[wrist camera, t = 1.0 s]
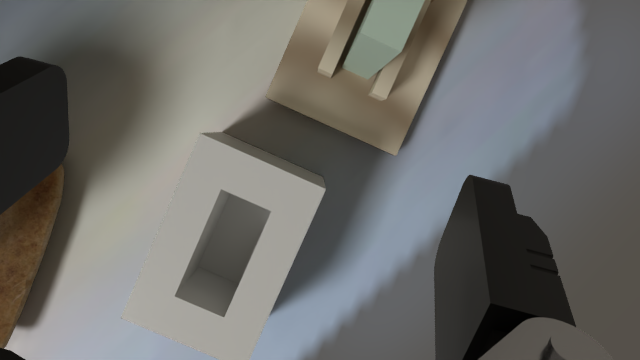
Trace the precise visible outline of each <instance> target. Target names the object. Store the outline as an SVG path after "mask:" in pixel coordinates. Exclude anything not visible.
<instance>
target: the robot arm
mask: <svg viewBox="0 0 640 360" xmlns="http://www.w3.org/2000/svg"><path fill="white" fill-rule="evenodd" d="M68 145H69V123H68V100H67V80H66V75H65V73H64V71H63V69H62V68H61V67H59V66H56V65H52V64H48V63H44V62H40V61H36V60H33V59H29V58H25V57H16V58H14V59H11V60H9V61H7V62H5V63H3V64H1V65H0V215H1V214H2V213H3V212H4V211H6V210H7V209H8V208H9V207H11V206H12V205H13V204H14V203H15V202H17V201H18V200H19V199H20V198H22V197H23V196H24V195H25V194H26V193H28V192H29V191H30V190H31V189H33V188H34V187H35V186H36V185H38V184H39V183H40V182H41V181H42V180H44V179H45V178H46V177H47V176H49V175H50V174H51V173H52V172H53V171H55V170H56V169H57V168H58V167H59V166H60V165H61V163H62V162H63V160H64V158H65V156H66V153H67V150H68ZM552 258H553V254H552V250H551V247H550V244H549V241H548V238H547V236H546V235H545V234H544V232H543V231H542V230H541V229H540V228H539V226H537V224H536V223H535V222H534V221H533V219H532V218H531V217H528V216H523V215H520V214H517V211H516V207H515V204H514V199H513V195H512V192H511V188H510V186H509V185H507V184H504V183H500V182H496V181H492V180H488V179H485V178H481V177H477V176H473V175H469V176H468V177H467V178H466V180H465V181H464V183H463V186H462V188H461V191H460V193H459V196H458V198H457V201H456V203H455V206H454V208H453V211H452V213H451V216H450V218H449V221H448V223H447V226H446V228H445V231H444V233H443V236H442V238H441V241H440V244H439V247H438V251H437V255H436V260H435V267H434V283H435V284H434V285H435V286H434V288H435V351H436V360H613V358H612V357H611V356H610V354H609V353H608V352H607V351H606V350H605V349H604V348H603V347H602V346H601V345H600V344H599V343H598V342H597V341H595V340H594V339H593V338H592V337H591V336H589V335H588V334H586V333H585V332H583V331H581V330H580V329H578V328H576V325H575V322H574V319H573V316H572V313H571V310H570V306H569V303H568V300H567V297H566V294H565V291H564V288H563V285H562V281H561V278H560V276H558V269H557V266H556V263H555V260H554V259H552ZM0 360H25V359H23V358H22V357H20V356H18V355H17V354H15V353H14V352H12V351H10V350H6V349H3V348H0Z"/></svg>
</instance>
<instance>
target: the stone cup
mask: <svg viewBox="0 0 640 360" xmlns="http://www.w3.org/2000/svg"><path fill="white" fill-rule="evenodd" d="M63 186H64V168H63V166H62V163H61V165H60V166H59V167H58V168H57V169H56V170H55V171H53V172H52V173H51V174H50V175H49V176H47V177H46V178H45V179H44V180H42V181H41V182H40V183H39V184H38V185H36V186H35V187H34V188H33V189H31V190H30V191H29V192H28V193H26V194H25V195H24V196H23V197H22V198H20V199H19V200H18V201H17V202H15V203H14V204H13V205H12V206H11V207H9V208H8V209H7V210H6V211H4V212H3V213H2V214H1V215H0V348H3V349H4V348H5V347H6V345H7V343H8V341H9V339H10V337H11V335H12V333H13V330H14V328H15V326H16V323H17V320H18V319H19V317H20V315H21V313H22V310H23V308H24V305H25V303H26V300H27V297H28V295H29V292H30V289H31V287H32V284H33V281H34V278H35V276H36V274H37V271H38V269H39V266H40V264H41V261H42V258H43V256H44V253H45V250H46V247H47V245H48V242H49V239H50V236H51V232H52V229H53V226H54V223H55V220H56V216H57V213H58V210H59V206H60V203H61V198H62V193H63Z"/></svg>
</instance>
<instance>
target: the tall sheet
mask: <svg viewBox="0 0 640 360" xmlns="http://www.w3.org/2000/svg"><path fill="white" fill-rule="evenodd" d="M424 1H425V0H372V1H371V3H370V5H369V7H368V10H367V12H366V14H365V16H364V19H363V21H362V23H361V25H360V28H359V30H358V32H357V34H356V37H355V39H354V41H353V43H352V46H351V48H350V50H349V52H348V54H347V57H346V59H345V61H344V63H343V66H342V68H344V69H346V70H348V71H350V72H352V73H355V74H357V75H359V76H361V77H363V78H365V79H369V78H371V77H372V76H373V75H374V74H375V73H377V72H378V71H379V70H380V69H381V68H383V67H384V66H385V65H386V64H387V63H389V62H390V61H391V60H392V59H393V58H395V57H396V56H397V55H398V54H399V53H401V52H402V49H403V47H404V45H405V43H406V41H407V38H408V36H409V34H410V32H411V30H412V27H413V25H414V23H415V21H416V19H417V16H418V14H419V12H420V10H421V8H422V5H423V3H424Z"/></svg>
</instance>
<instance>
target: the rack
mask: <svg viewBox="0 0 640 360" xmlns="http://www.w3.org/2000/svg"><path fill="white" fill-rule="evenodd" d="M371 1H372V0H307V2H306V5H305V7H304V9H303V12H302V14H301V16H300V18H299V21H298V23H297V25H296V28H295V30H294V32H293V35H292V37H291V39H290V41H289V44H288V46H287V48H286V51H285V53H284V55H283V58H282V60H281V62H280V64H279V67H278V69H277V71H276V74H275V76H274V78H273V80H272V83H271V85H270V87H269V90H268V92H267V94H266V98H268V99H270V100H272V101H274V102H277V103H279V104H281V105H283V106H285V107H288V108H290V109H292V110H294V111H297V112H299V113H301V114H303V115H305V116H308V117H310V118H312V119H314V120H316V121H319V122H321V123H323V124H325V125H328V126H330V127H332V128H334V129H336V130H339V131H341V132H343V133H345V134H348V135H350V136H352V137H354V138H356V139H359V140H361V141H363V142H365V143H368V144H370V145H372V146H374V147H376V148H379V149H381V150H383V151H385V152H388V153H390V154H392V155H395V156H396V155H397V153H398V151H399V149H400V146H401V144H402V142H403V140H404V138H405V136H406V133H407V131H408V129H409V127H410V125H411V122H412V120H413V118H414V116H415V114H416V112H417V109H418V107H419V105H420V103H421V101H422V99H423V96H424V94H425V92H426V90H427V88H428V85H429V83H430V81H431V79H432V77H433V75H434V72H435V70H436V68H437V66H438V64H439V62H440V59H441V57H442V55H443V53H444V51H445V48H446V46H447V44H448V42H449V40H450V38H451V35H452V33H453V31H454V29H455V27H456V25H457V22H458V20H459V18H460V16H461V14H462V12H463V9H464V7H465V5H466V3H467V1H468V0H434V1H433V2H432V3H431V0H425V1H424V3H423V5H422V8H421V10H420V12H419V14H418V16H417V19H416V21H415V23H414V25H413V27H412V30H411V32H410V34H409V36H408V38H407V41H406V43H405V45H404V47H403V49H402V52H401V53H399V54H398V55H397V56H396V57H395V58H393V59H392V60H391V61H390V62H389V63H387V64H386V65H385V66H384V67H383V68H381V69H380V70H379V71H378V72H377V73H375V74H374V75H373V76H372V77H371V78H369V79H365V78H363V77H361V76H359V75H357V74H355V73H352V72H350V71H348V70H346V69H344V68H342V66H343V63H344V61H345V59H346V57H347V54H348V52H349V50H350V48H351V46H352V43H353V41H354V39H355V37H356V34H357V32H358V30H359V28H360V25H361V23H362V21H363V19H364V16H365V14H366V12H367V10H368V7H369V5H370V3H371Z"/></svg>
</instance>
